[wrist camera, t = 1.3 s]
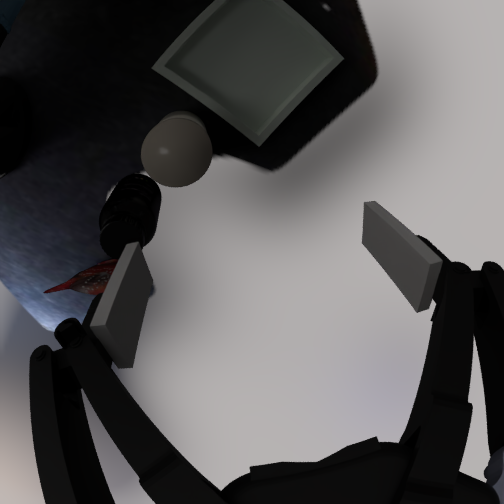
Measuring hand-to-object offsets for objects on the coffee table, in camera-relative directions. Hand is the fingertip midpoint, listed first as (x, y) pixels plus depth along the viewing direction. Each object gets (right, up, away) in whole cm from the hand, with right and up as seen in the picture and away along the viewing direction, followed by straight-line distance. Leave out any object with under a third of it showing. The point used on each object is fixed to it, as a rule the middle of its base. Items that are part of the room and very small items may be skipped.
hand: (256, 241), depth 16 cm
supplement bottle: (-16, +7, +20) cm, 27 cm away
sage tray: (-1, +23, +13) cm, 26 cm away
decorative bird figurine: (-24, -2, +25) cm, 35 cm away
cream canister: (-9, +14, +17) cm, 24 cm away
